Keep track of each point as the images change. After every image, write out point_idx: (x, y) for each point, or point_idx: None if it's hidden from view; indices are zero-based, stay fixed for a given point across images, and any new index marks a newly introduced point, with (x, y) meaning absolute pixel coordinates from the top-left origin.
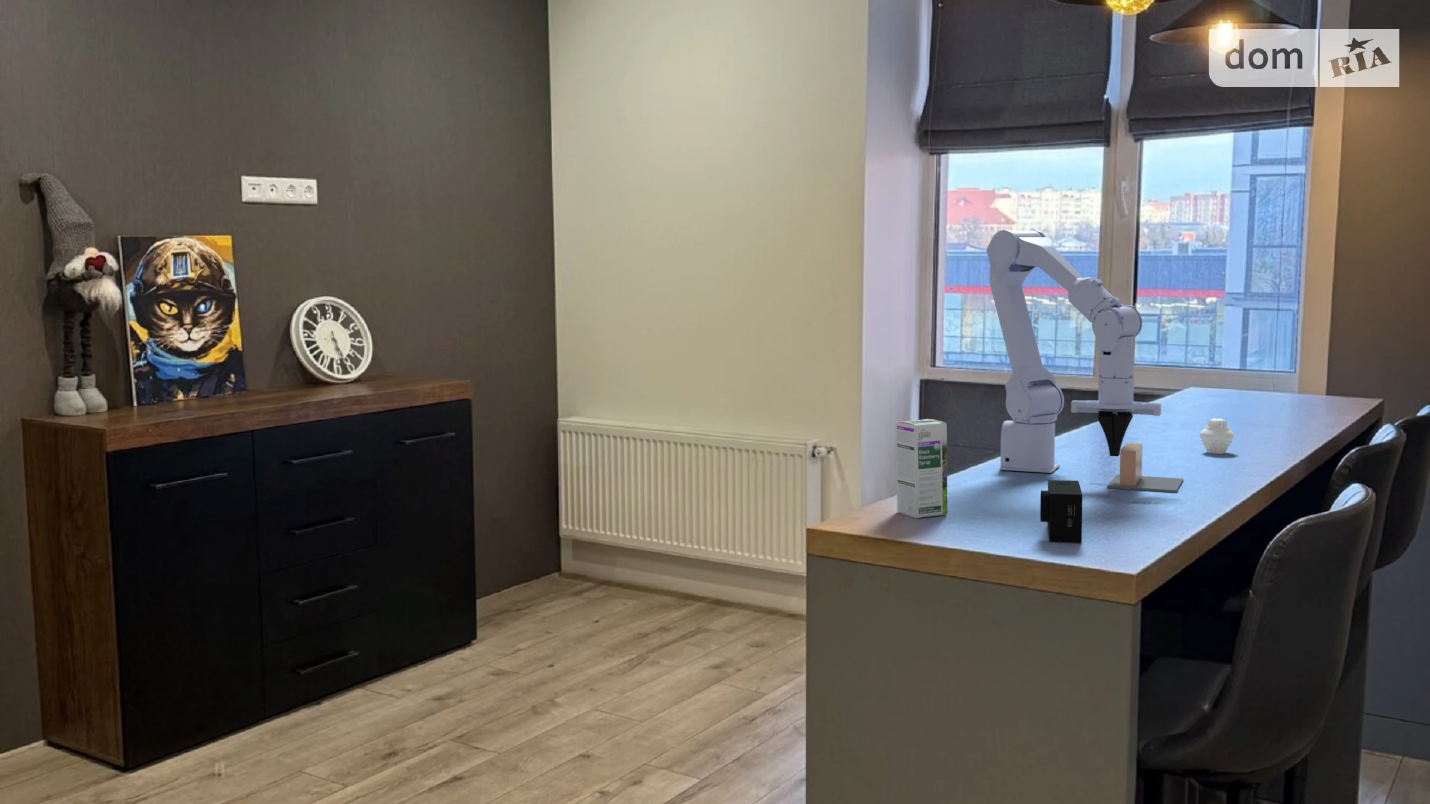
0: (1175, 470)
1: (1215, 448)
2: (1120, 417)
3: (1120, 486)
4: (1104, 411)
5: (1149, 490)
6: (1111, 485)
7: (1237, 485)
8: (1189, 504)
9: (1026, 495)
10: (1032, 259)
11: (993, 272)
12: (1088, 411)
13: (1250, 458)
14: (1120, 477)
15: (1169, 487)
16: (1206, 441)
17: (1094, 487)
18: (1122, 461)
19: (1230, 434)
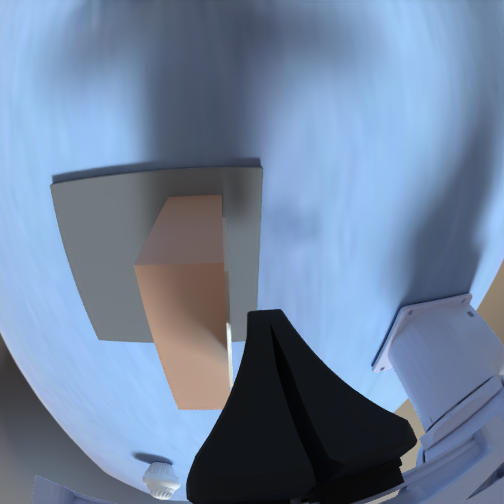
0: (158, 406)
1: (158, 467)
2: (259, 488)
3: (214, 169)
4: (373, 495)
5: (120, 173)
6: (248, 176)
7: (15, 318)
8: (15, 49)
9: (445, 25)
10: None
11: None
12: (439, 459)
13: (116, 451)
14: (219, 204)
15: (75, 219)
16: (168, 475)
17: (303, 166)
18: (211, 231)
19: (143, 480)
